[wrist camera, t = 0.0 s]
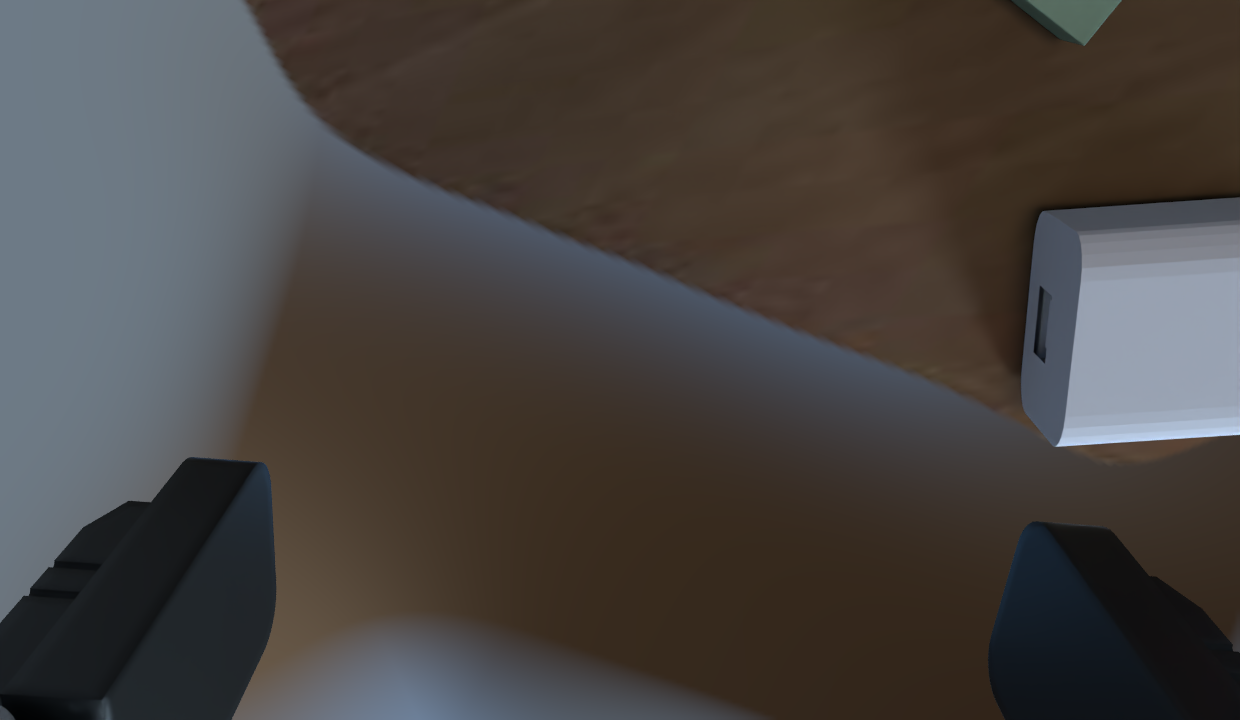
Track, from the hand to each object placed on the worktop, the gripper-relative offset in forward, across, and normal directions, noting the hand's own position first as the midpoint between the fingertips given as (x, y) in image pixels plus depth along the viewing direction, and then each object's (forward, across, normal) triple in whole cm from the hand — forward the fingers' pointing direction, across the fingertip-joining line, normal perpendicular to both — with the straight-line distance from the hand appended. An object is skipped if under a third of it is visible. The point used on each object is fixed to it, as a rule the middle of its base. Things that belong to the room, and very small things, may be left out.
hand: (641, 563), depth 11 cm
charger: (+32, -26, +6) cm, 42 cm away
